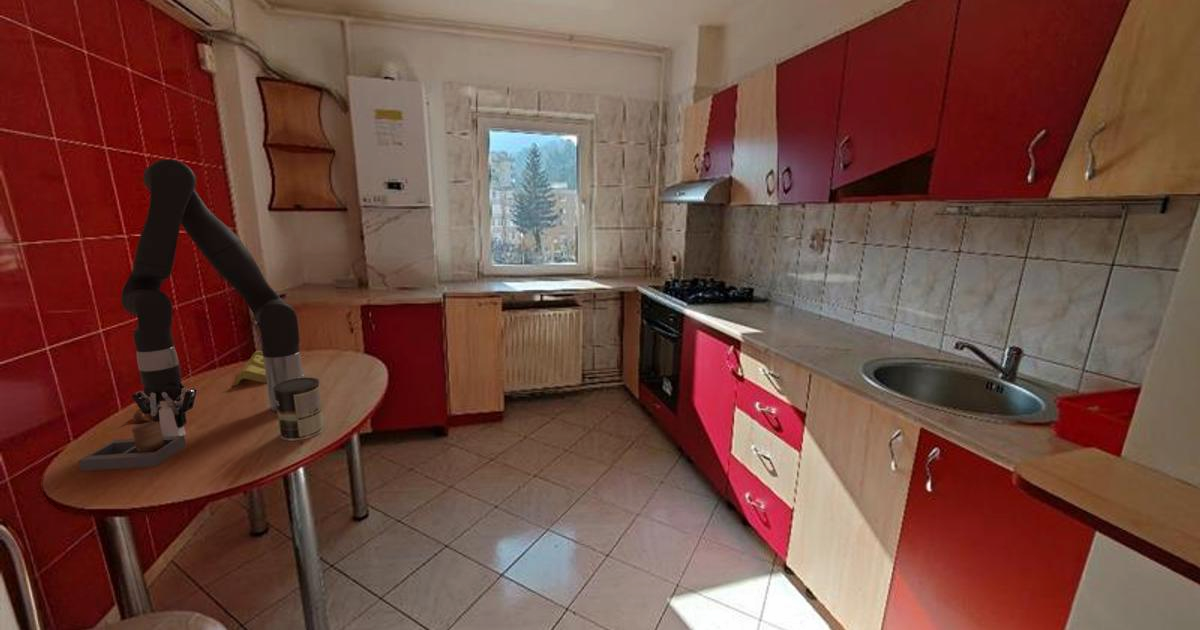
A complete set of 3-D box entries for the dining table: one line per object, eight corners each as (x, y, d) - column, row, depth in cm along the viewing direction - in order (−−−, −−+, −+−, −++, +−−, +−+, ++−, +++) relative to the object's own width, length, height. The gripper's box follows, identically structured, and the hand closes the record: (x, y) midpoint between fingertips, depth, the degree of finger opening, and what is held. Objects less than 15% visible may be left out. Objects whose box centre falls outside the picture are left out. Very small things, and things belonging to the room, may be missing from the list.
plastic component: (272, 376, 162) (239, 368, 157) (264, 395, 163) (230, 387, 158) (282, 357, 180) (252, 349, 175) (275, 373, 180) (245, 366, 175)
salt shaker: (156, 444, 120) (147, 404, 117) (165, 435, 124) (157, 396, 122) (182, 440, 122) (174, 401, 119) (190, 431, 127) (183, 394, 124)
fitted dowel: (171, 450, 115) (165, 421, 113) (156, 460, 110) (149, 430, 109) (149, 452, 114) (142, 422, 112) (133, 462, 110) (126, 431, 108)
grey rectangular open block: (186, 448, 118) (184, 435, 117) (156, 469, 108) (153, 455, 108) (118, 452, 116) (115, 439, 115) (81, 474, 106) (78, 460, 105)
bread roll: (198, 410, 141) (196, 399, 140) (164, 426, 130) (161, 414, 129) (160, 409, 141) (157, 397, 140) (122, 424, 131) (120, 412, 130)
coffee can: (276, 444, 121) (268, 393, 117) (285, 427, 130) (278, 380, 127) (322, 437, 125) (315, 387, 121) (327, 421, 134) (321, 375, 131)
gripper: (200, 359, 123) (210, 419, 127) (139, 361, 121) (152, 422, 125) (179, 368, 116) (192, 431, 120) (114, 371, 114) (129, 435, 118)
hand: (171, 426), depth 122 cm, fingers closed on salt shaker, 3 cm apart
